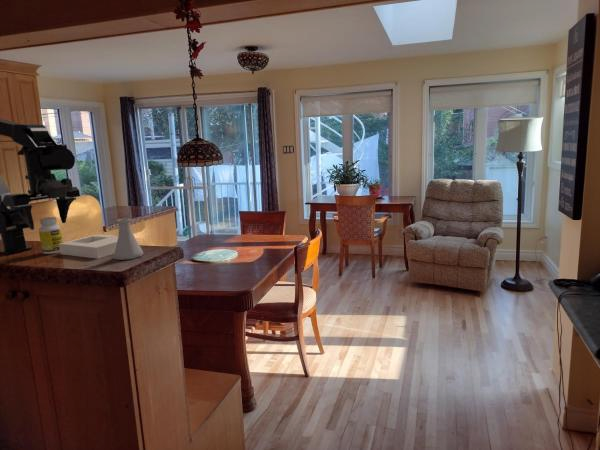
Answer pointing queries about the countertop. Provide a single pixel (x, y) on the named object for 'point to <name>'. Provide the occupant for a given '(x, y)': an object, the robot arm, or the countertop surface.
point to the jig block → (90, 246)
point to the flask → (126, 242)
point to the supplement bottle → (50, 235)
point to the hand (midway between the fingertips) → (48, 226)
